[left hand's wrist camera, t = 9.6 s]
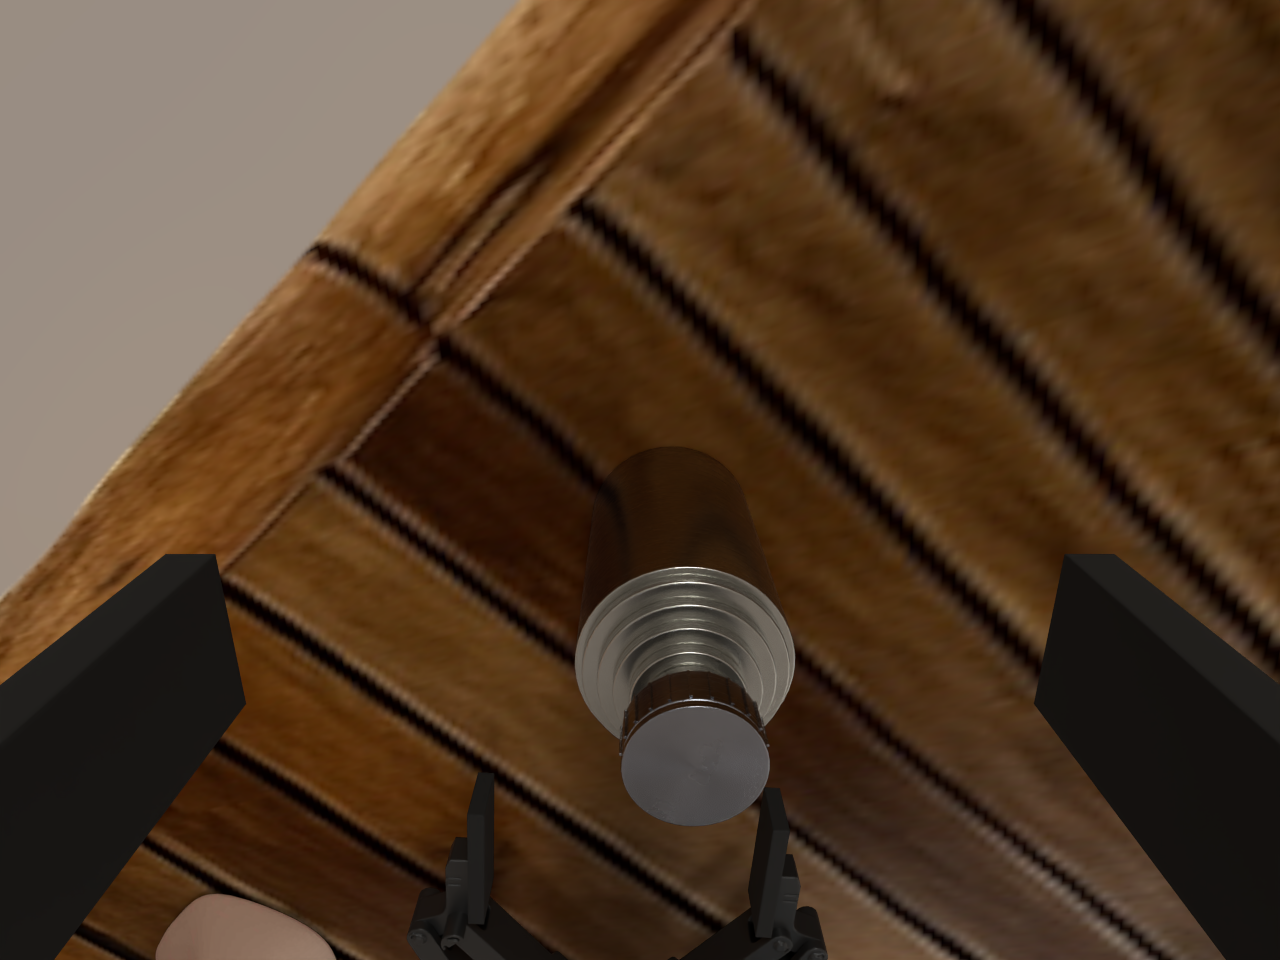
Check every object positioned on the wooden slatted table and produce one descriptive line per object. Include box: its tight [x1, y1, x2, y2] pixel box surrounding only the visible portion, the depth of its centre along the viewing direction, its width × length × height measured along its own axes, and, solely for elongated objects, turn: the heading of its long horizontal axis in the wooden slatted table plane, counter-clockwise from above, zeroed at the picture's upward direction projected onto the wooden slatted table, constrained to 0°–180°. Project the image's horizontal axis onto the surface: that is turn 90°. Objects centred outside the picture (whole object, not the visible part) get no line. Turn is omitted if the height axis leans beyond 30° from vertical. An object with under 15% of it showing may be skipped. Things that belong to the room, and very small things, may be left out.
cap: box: [619, 670, 770, 826], centre depth 23 cm, size 4×4×2 cm
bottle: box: [575, 447, 795, 740], centre depth 31 cm, size 7×7×17 cm
